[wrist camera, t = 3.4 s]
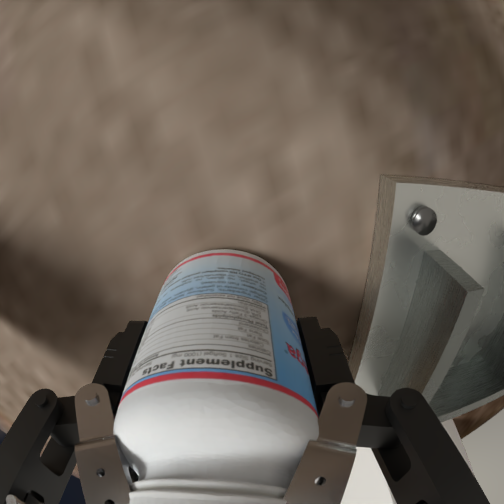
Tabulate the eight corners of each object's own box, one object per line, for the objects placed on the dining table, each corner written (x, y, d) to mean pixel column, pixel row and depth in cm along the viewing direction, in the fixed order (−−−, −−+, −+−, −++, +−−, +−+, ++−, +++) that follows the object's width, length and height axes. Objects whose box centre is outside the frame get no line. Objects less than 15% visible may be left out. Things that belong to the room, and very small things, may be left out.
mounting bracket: (380, 174, 12) (448, 211, 7) (542, 194, 12) (593, 222, 8) (335, 407, 19) (350, 465, 14) (477, 371, 19) (502, 410, 15)
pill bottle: (279, 348, 16) (309, 554, 6) (167, 341, 15) (125, 544, 5) (297, 246, 13) (392, 517, 3) (159, 238, 13) (40, 497, 3)
